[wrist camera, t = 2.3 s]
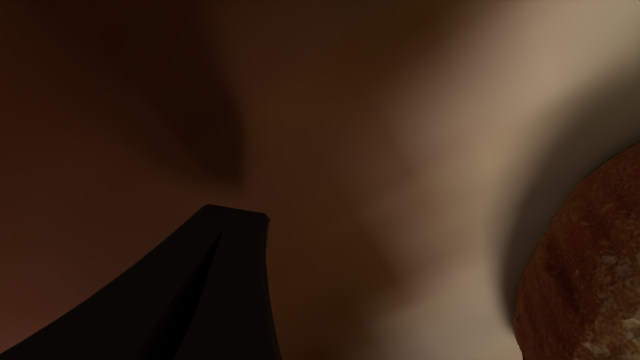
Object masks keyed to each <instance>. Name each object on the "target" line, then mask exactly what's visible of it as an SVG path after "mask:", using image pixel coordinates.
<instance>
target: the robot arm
mask: <svg viewBox="0 0 640 360" xmlns="http://www.w3.org/2000/svg"><path fill="white" fill-rule="evenodd" d="M269 221H270V219H269V218H268V217H267V215H266V214H264V213H258V212H252V211H246V210H240V209H234V208H228V207H222V206H216V205H210V204H207V205H205V206H203V207H202V208H201V209H200V210H199V211H197V212H196V213H195V214H194V215H193V216H192V217H191V218H189V219H188V220H187V221H186V222H185V223H184V224H183V225H181V226H180V227H179V228H178V229H177V230H176V231H175V232H173V233H172V234H171V235H170V236H169V237H167V238H166V239H165V240H164V241H163V242H162V243H160V244H159V245H158V246H157V247H155V248H154V249H153V250H152V251H150V252H149V253H148V254H147V255H145V256H144V257H143V258H142V259H140V260H139V261H138V262H137V263H135V264H134V265H133V266H132V267H130V268H129V269H128V270H126V271H125V272H124V273H122V274H121V275H120V276H118V277H117V278H115V279H114V280H113V281H111V282H110V283H109V284H107V285H106V286H104V287H103V288H102V289H100V290H99V291H98V292H96V293H95V294H93V295H92V296H91V297H89V298H88V299H86V300H85V301H84V302H82V303H81V304H79V305H78V306H76V307H75V308H73V309H72V310H70V311H69V312H67V313H66V314H64V315H63V316H61V317H60V318H58V319H57V320H55V321H53V322H52V323H50V324H49V325H47V326H46V327H44V328H42V329H41V330H39V331H38V332H36V333H34V334H33V335H31V336H30V337H28V338H26V339H25V340H23V341H21V342H20V343H18V344H16V345H15V346H13V347H11V348H10V349H8V350H6V351H4V352H3V353H1V354H0V360H282V359H281V354H280V350H279V346H278V341H277V336H276V331H275V326H274V321H273V316H272V310H271V303H270V297H269V288H268V279H267V270H266V246H267V238H268V230H269Z"/></svg>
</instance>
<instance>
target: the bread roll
mask: <svg viewBox="0 0 640 360" xmlns="http://www.w3.org/2000/svg"><path fill="white" fill-rule="evenodd" d="M516 304H517V308H516V312H515V317H514V322H513V327H514V333H515V337H516V341H517V343H518V345H519V347H520V350H521V352H522V356H523V360H640V142H638V143H637V144H635V145H633V146H631V147H630V148H628V149H626V150H624V151H623V152H621V153H619V154H617V155H616V156H614V157H612V158H611V159H609V160H608V161H607V162H605V163H604V164H603V165H601V166H600V167H599V168H597V169H596V170H595V171H594V172H592V173H591V174H590V175H588V176H587V177H586V178H584V179H583V180H582V181H581V182H579V183H578V184H577V186H576V187H575V188H574V190H573V191H572V192H571V193H570V194H569V195H568V197H567V199H566V201H565V203H564V204H563V207H562V208H561V209H560V211H559V212H558V213H557V214H556V215H555V216H554V217H553V219H552V222H551V225H550V228H549V230H548V231H547V232H546V233H545V234H544V235H543V237H542V238H541V239H540V241H539V243H538V245H537V247H536V249H535V251H534V253H533V255H532V257H531V259H530V261H529V263H528V264H527V266H526V268H525V270H524V272H523V274H522V276H521V278H520V281H519V284H518V287H517V290H516Z"/></svg>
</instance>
